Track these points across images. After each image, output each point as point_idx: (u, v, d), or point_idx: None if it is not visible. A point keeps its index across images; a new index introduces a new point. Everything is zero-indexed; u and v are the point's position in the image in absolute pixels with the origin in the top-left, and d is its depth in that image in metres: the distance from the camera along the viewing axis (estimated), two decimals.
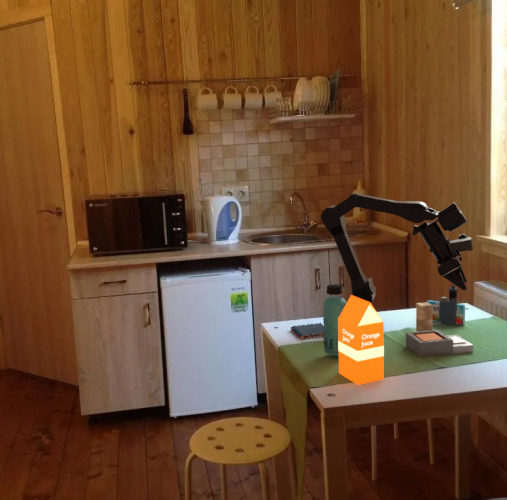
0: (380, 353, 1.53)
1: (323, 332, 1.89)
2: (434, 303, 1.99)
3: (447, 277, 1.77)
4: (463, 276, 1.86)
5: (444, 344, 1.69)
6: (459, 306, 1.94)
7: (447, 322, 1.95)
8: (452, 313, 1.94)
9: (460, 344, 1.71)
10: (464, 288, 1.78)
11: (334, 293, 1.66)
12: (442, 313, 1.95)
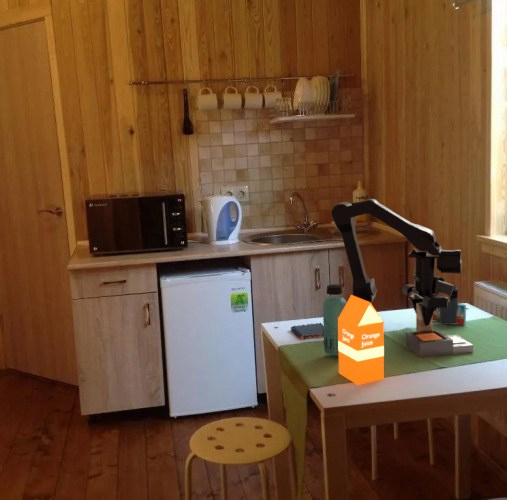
0: (380, 353, 1.53)
1: (323, 332, 1.88)
2: None
3: (423, 308, 1.82)
4: None
5: (444, 344, 1.69)
6: (460, 306, 1.94)
7: (448, 322, 1.95)
8: (453, 313, 1.94)
9: (460, 344, 1.71)
10: (427, 324, 1.85)
11: (334, 293, 1.66)
12: (443, 313, 1.95)
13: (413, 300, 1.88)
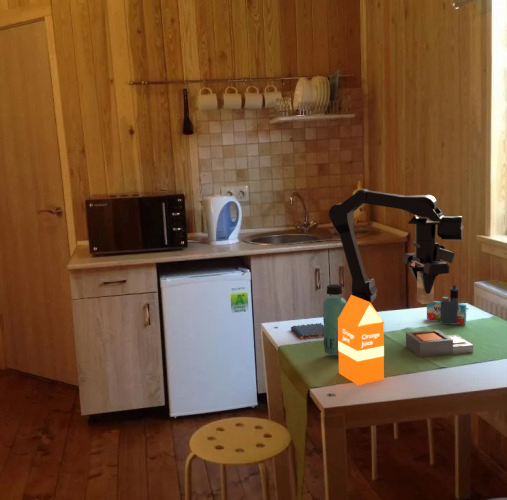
0: (380, 353, 1.53)
1: (323, 332, 1.88)
2: (435, 303, 1.99)
3: (424, 276, 1.79)
4: None
5: (444, 344, 1.69)
6: (460, 306, 1.94)
7: (448, 322, 1.95)
8: (453, 313, 1.94)
9: (460, 344, 1.71)
10: (428, 292, 1.82)
11: (334, 293, 1.66)
12: (443, 313, 1.95)
13: (414, 268, 1.85)
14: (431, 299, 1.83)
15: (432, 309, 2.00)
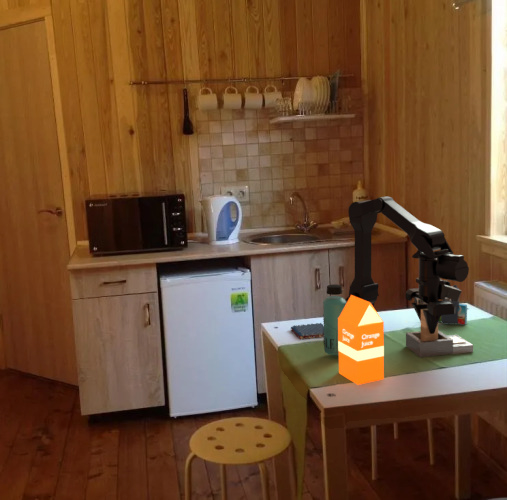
0: (380, 353, 1.53)
1: (323, 332, 1.88)
2: None
3: (428, 315, 1.68)
4: None
5: (444, 344, 1.69)
6: (461, 306, 1.94)
7: (449, 322, 1.95)
8: None
9: (460, 344, 1.71)
10: (432, 332, 1.70)
11: (334, 293, 1.66)
12: None
13: (417, 306, 1.73)
14: (436, 339, 1.71)
15: None
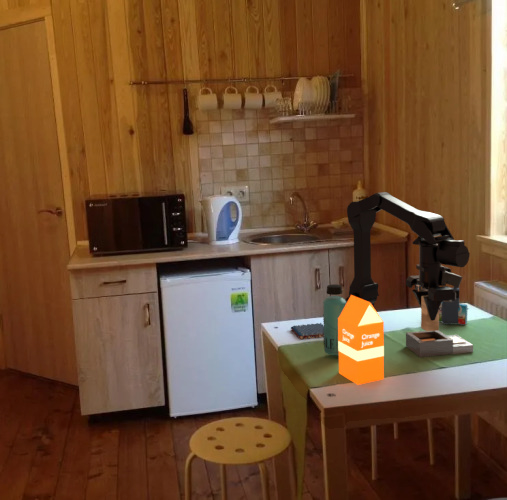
0: (380, 353, 1.53)
1: (323, 332, 1.88)
2: None
3: (428, 301, 1.67)
4: None
5: (444, 344, 1.69)
6: (461, 306, 1.94)
7: (450, 322, 1.95)
8: (455, 313, 1.94)
9: (460, 344, 1.71)
10: (433, 318, 1.70)
11: (334, 293, 1.66)
12: (444, 313, 1.95)
13: (417, 293, 1.73)
14: (437, 326, 1.71)
15: None
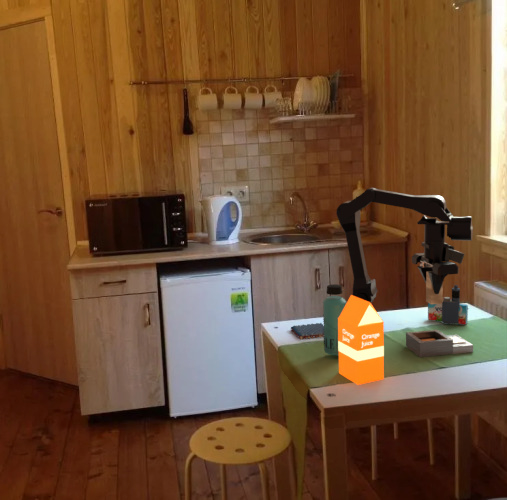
0: (380, 353, 1.53)
1: (322, 332, 1.88)
2: None
3: (433, 276, 1.79)
4: None
5: (444, 344, 1.69)
6: (462, 306, 1.94)
7: (450, 322, 1.95)
8: (455, 313, 1.94)
9: (460, 344, 1.71)
10: (437, 292, 1.82)
11: (334, 293, 1.66)
12: (445, 314, 1.95)
13: (422, 269, 1.85)
14: (440, 300, 1.83)
15: (433, 310, 1.99)
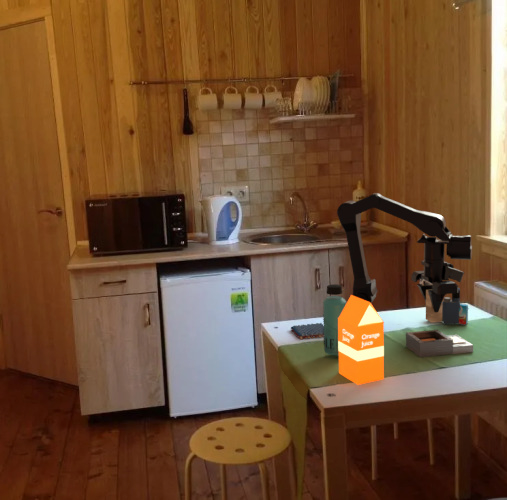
0: (380, 353, 1.53)
1: (322, 332, 1.88)
2: None
3: (432, 295, 1.80)
4: None
5: (444, 344, 1.69)
6: (462, 306, 1.94)
7: (450, 322, 1.95)
8: (455, 313, 1.94)
9: (460, 344, 1.71)
10: (437, 310, 1.83)
11: (334, 293, 1.66)
12: (445, 314, 1.95)
13: (422, 287, 1.86)
14: (440, 318, 1.84)
15: None
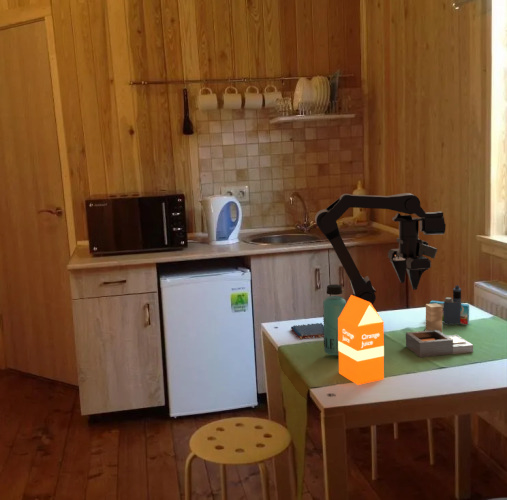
0: (380, 353, 1.53)
1: (322, 332, 1.88)
2: (438, 303, 1.98)
3: (411, 272, 1.84)
4: (404, 277, 1.96)
5: (444, 344, 1.69)
6: (463, 306, 1.94)
7: (452, 322, 1.95)
8: (457, 313, 1.94)
9: (460, 344, 1.71)
10: (415, 288, 1.87)
11: (334, 293, 1.66)
12: (446, 314, 1.95)
13: (394, 262, 1.95)
14: None
15: None
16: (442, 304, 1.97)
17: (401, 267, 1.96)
